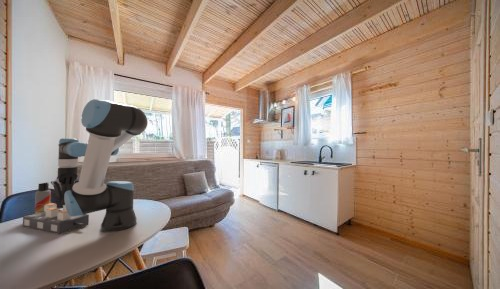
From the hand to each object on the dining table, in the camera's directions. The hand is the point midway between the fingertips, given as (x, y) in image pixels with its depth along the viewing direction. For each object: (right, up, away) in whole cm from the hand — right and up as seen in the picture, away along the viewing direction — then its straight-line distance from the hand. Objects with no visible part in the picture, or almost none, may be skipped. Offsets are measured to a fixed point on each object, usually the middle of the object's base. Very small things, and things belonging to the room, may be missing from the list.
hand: (66, 210), depth 96 cm
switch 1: (+8, -1, -9) cm, 12 cm away
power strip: (+2, -7, -5) cm, 8 cm away
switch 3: (-10, -1, +1) cm, 10 cm away
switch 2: (-2, -1, -5) cm, 6 cm away
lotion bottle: (-20, -7, +6) cm, 22 cm away
